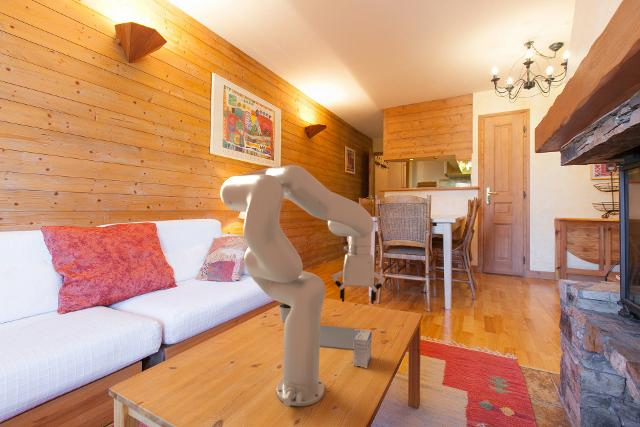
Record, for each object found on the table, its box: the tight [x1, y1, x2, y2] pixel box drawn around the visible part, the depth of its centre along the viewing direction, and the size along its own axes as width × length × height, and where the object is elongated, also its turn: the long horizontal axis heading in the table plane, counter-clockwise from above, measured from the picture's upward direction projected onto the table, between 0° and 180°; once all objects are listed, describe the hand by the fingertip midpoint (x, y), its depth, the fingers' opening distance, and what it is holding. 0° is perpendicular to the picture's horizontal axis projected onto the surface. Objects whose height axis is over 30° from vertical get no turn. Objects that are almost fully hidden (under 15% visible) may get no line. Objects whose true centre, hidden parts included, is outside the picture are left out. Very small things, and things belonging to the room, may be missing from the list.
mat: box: [320, 324, 359, 350], centre depth 112 cm, size 18×22×1 cm
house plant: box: [278, 303, 291, 323], centre depth 125 cm, size 14×14×16 cm
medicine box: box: [352, 329, 373, 368], centre depth 94 cm, size 8×4×9 cm, turn 161°
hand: (357, 301), depth 97 cm, fingers open, 9 cm apart
